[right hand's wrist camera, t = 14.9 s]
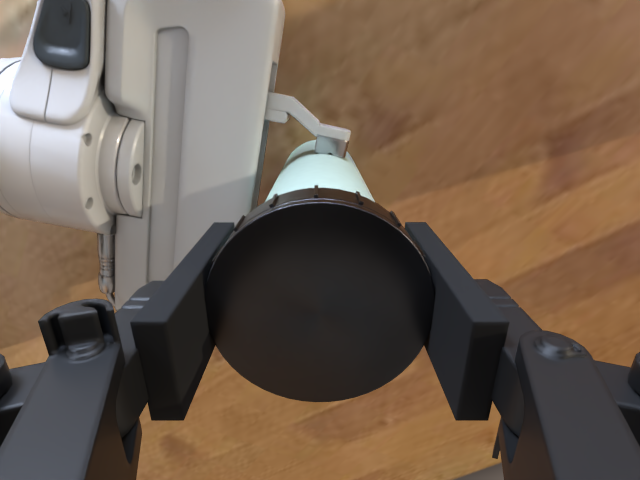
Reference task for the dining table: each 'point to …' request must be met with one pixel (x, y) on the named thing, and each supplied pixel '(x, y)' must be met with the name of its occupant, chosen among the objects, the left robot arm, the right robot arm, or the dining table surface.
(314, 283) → the lid
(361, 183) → the jar
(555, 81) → the dining table surface
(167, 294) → the right robot arm
